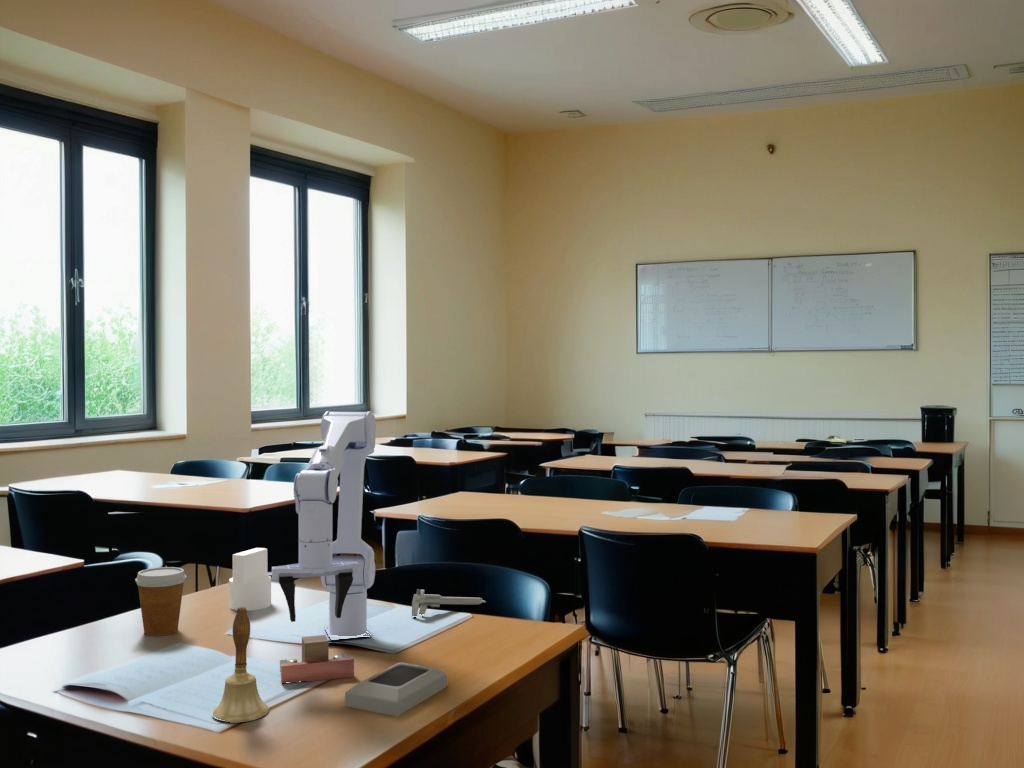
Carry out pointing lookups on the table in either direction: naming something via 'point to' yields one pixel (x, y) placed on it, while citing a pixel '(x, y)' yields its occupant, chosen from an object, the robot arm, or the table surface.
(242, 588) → the cylinder with rectangular tab
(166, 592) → the disposable coffee cup
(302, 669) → the block
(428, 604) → the caliper
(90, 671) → the table surface
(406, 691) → the bevelled grey desktop device
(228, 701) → the hand bell
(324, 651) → the block
